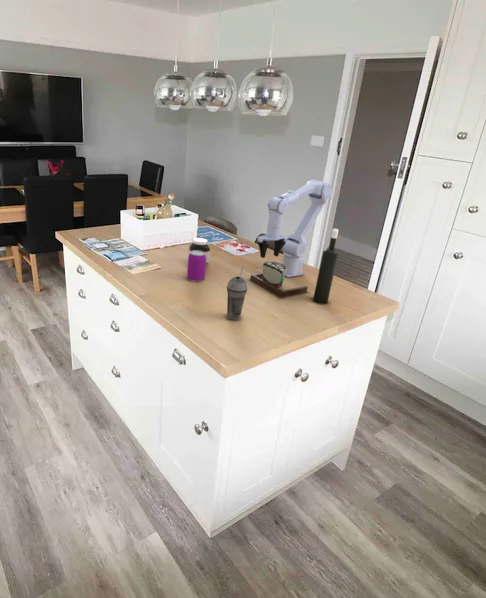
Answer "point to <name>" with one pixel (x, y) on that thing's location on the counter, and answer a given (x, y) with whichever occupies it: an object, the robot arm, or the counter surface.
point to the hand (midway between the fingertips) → (269, 256)
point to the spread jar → (200, 247)
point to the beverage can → (196, 265)
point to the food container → (274, 273)
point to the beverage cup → (236, 296)
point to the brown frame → (258, 280)
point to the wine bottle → (326, 271)
